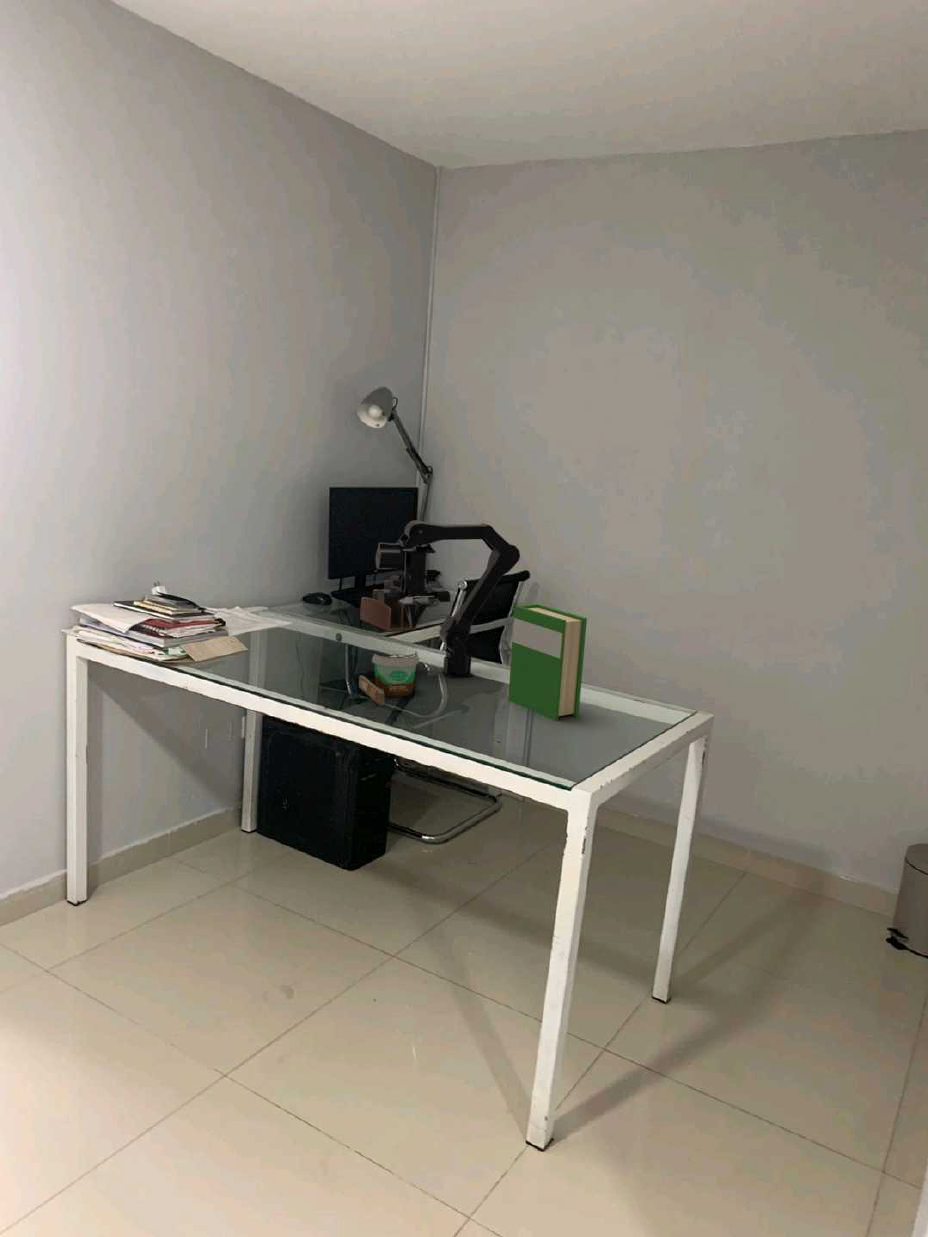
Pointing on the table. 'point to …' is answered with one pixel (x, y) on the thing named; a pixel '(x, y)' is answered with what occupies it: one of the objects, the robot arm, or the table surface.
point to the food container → (395, 673)
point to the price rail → (371, 690)
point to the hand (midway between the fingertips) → (412, 627)
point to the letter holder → (384, 613)
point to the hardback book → (547, 660)
